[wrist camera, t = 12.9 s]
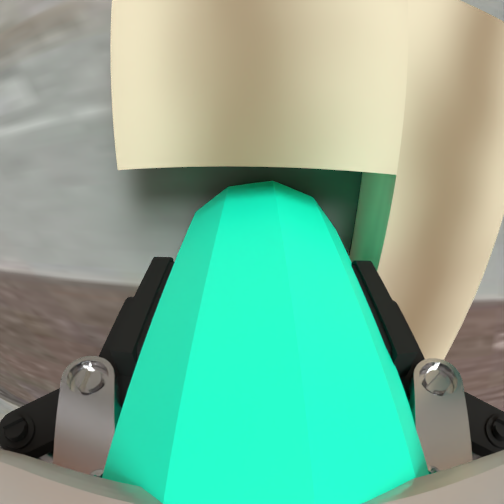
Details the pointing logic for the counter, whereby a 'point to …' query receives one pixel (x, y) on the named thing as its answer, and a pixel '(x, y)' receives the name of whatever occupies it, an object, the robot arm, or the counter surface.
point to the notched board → (335, 121)
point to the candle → (264, 368)
